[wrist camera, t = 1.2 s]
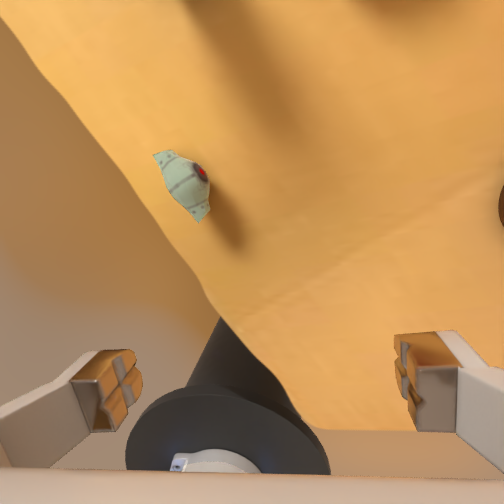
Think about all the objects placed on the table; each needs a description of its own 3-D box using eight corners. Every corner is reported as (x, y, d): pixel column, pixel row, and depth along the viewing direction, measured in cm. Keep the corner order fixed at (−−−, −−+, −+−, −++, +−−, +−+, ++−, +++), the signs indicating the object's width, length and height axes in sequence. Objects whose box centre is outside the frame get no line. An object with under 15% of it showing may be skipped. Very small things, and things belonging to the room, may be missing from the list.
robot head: (167, 158, 34) (137, 158, 28) (195, 137, 33) (170, 133, 27) (206, 218, 36) (186, 231, 29) (234, 200, 35) (219, 209, 28)
